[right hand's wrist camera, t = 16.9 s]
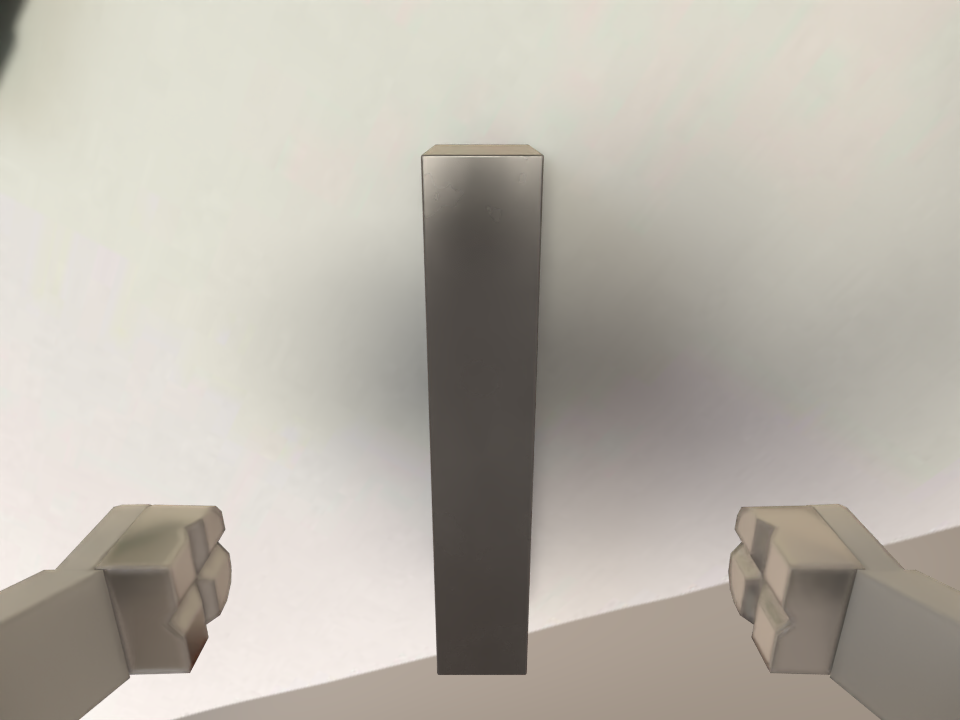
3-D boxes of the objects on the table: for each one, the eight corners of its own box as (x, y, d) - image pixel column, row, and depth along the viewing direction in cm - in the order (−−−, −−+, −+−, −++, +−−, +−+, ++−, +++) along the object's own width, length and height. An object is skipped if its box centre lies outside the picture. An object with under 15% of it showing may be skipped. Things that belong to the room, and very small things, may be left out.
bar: (434, 144, 33) (420, 154, 25) (529, 144, 33) (543, 154, 25) (444, 574, 42) (437, 675, 35) (518, 574, 42) (526, 675, 35)
